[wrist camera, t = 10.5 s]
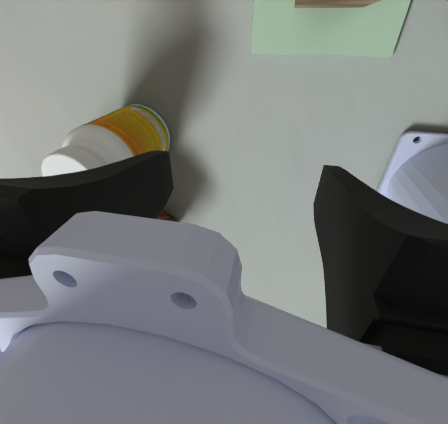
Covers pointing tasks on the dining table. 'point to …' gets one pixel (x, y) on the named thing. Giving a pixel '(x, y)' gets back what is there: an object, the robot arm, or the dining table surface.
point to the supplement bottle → (109, 140)
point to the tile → (327, 29)
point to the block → (333, 3)
